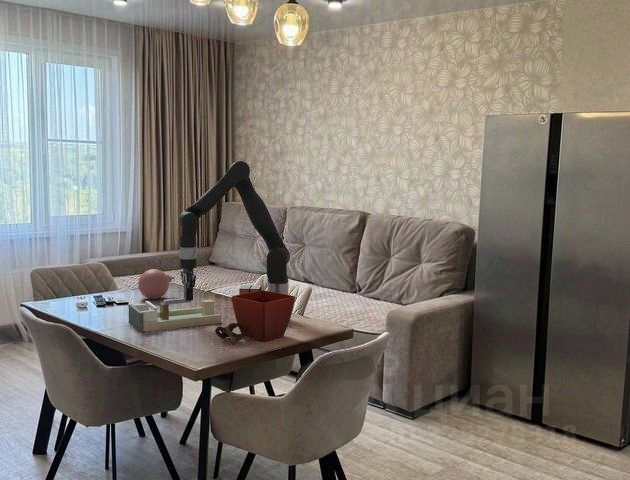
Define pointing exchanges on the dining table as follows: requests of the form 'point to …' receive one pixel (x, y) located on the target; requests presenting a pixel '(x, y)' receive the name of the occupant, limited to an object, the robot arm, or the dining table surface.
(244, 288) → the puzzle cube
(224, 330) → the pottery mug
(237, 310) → the plant pot
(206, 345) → the dining table surface
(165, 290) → the balloon
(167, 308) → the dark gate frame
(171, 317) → the tray with compartments
